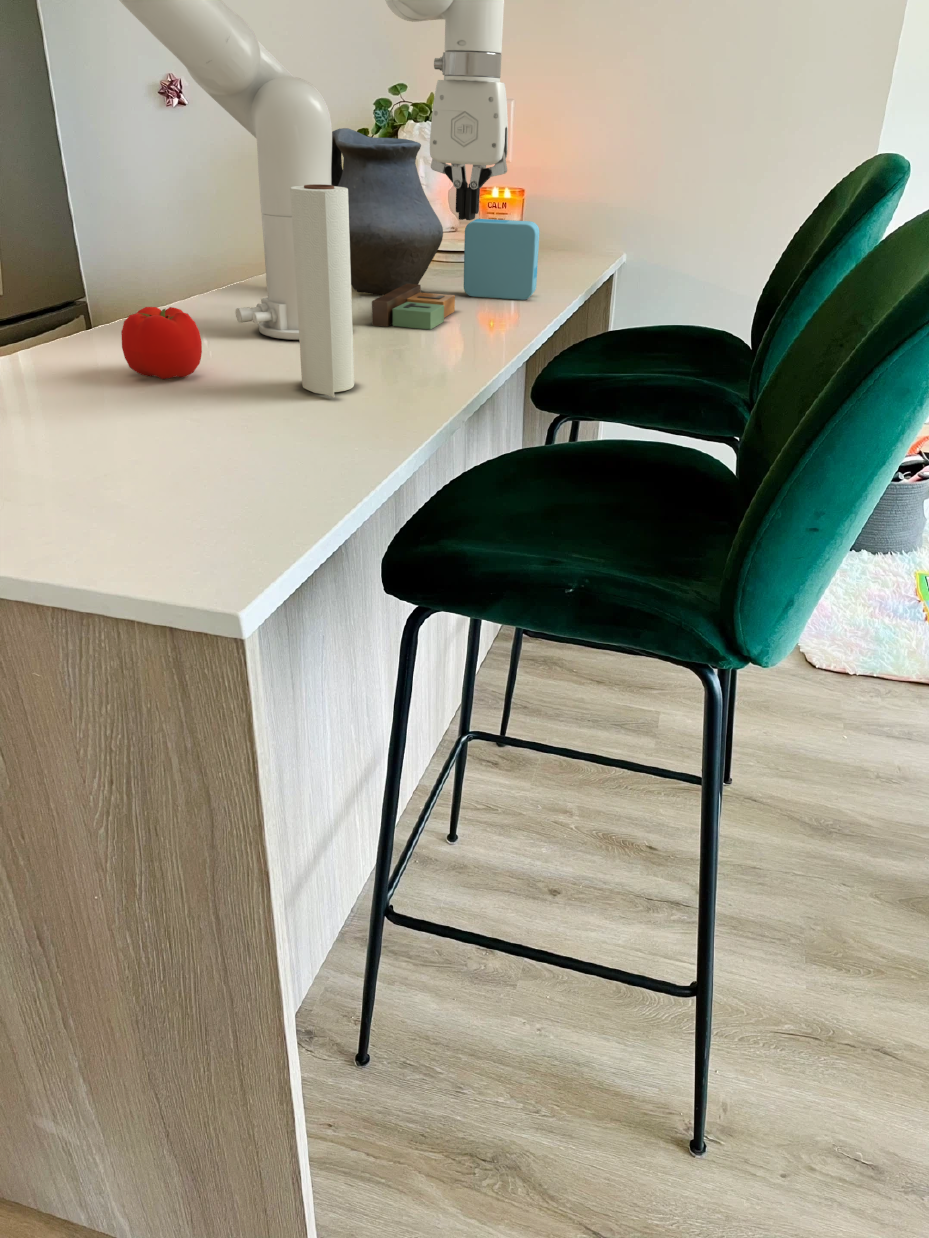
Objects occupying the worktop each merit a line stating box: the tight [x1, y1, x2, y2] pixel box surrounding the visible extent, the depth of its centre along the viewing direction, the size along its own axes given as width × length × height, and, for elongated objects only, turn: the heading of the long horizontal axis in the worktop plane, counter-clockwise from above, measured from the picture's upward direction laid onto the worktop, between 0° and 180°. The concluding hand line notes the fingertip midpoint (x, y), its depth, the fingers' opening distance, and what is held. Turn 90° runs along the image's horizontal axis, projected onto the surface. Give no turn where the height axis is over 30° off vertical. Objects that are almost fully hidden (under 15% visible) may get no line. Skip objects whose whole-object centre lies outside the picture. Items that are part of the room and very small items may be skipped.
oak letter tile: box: [407, 292, 456, 319], centre depth 148 cm, size 6×6×3 cm
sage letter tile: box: [392, 302, 445, 331], centre depth 141 cm, size 6×6×3 cm
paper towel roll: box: [290, 184, 355, 398], centre depth 104 cm, size 7×6×21 cm
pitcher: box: [331, 127, 444, 296], centre depth 159 cm, size 21×22×25 cm
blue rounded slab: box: [463, 218, 540, 301], centre depth 160 cm, size 12×4×12 cm, turn 78°
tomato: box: [121, 306, 203, 380], centre depth 111 cm, size 9×9×8 cm
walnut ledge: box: [371, 283, 422, 327], centre depth 146 cm, size 16×2×4 cm, turn 165°
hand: (466, 219), depth 134 cm, fingers closed
